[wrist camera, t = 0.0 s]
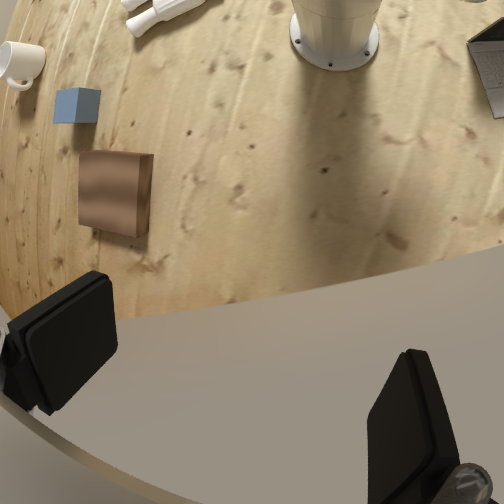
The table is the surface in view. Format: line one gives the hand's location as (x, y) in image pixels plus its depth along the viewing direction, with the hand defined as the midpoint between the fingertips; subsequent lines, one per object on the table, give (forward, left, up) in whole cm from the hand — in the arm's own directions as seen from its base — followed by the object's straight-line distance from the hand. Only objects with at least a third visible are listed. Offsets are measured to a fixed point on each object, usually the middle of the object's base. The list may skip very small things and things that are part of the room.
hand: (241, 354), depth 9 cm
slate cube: (-10, -41, -37) cm, 56 cm away
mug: (-20, -60, -37) cm, 73 cm away
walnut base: (+5, -31, -37) cm, 49 cm away
